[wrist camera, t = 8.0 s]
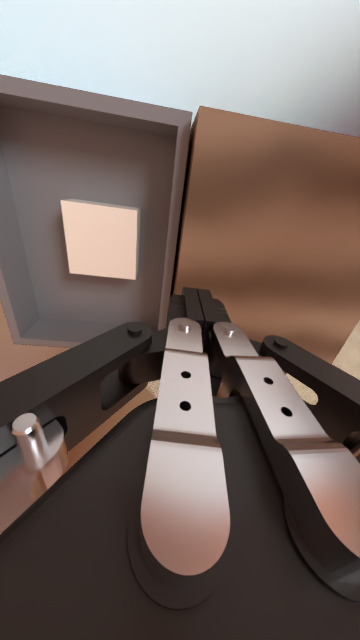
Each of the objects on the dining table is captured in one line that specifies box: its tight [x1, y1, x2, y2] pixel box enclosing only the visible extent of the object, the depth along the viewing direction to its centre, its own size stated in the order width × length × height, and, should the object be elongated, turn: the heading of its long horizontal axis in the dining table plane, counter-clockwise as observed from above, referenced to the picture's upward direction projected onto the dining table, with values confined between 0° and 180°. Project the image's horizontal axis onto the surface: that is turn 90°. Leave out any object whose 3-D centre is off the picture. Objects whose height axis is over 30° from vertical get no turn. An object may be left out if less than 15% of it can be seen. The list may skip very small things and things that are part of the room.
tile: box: [60, 199, 140, 280], centre depth 20 cm, size 6×6×2 cm
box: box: [0, 75, 192, 348], centre depth 20 cm, size 20×15×4 cm
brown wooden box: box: [166, 106, 360, 364], centre depth 21 cm, size 20×18×6 cm
